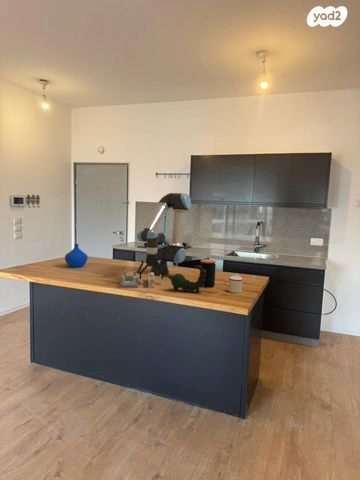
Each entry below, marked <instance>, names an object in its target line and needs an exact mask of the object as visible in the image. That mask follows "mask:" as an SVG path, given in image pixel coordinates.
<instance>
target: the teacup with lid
mask: <svg viewBox="0 0 360 480" xmlns="http://www.w3.org/2000/svg"><path fill="white" fill-rule="evenodd" d="M243 279H244V278H242V277H241V276H239V275H238V273H234V275H231V276H229V277H228V279H225V280H224V281H223V282H224V286H225V287H226V288H228V292H230V293H233V294H234V293H235V294H239V293H242V291H243ZM227 281H228V285H227V283H226V282H227Z"/></svg>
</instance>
